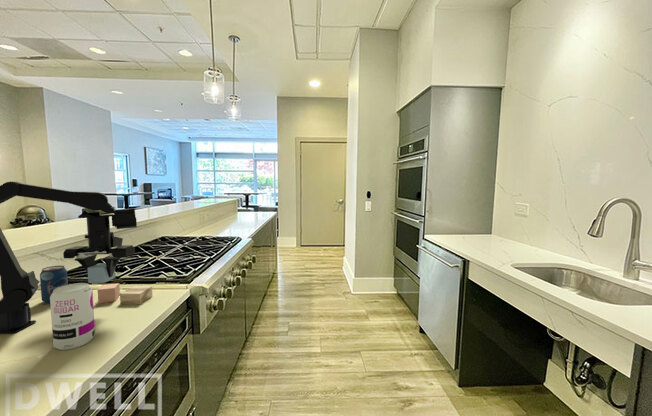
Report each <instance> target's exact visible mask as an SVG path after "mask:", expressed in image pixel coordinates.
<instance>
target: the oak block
mask: <svg viewBox="0 0 652 416" xmlns="http://www.w3.org/2000/svg"><path fill="white" fill-rule="evenodd" d="M151 297H153V286H151V285H149V286H148V285H144V286H143V285H142V286H140V285H138V286H137V285H133V286H131V287H129V288H128V289H126V290H123V291H122V292H120V297H119V299H120V300H119V303H120V305H141V304H143V303H144V302H146V301H147V300H149V299H151Z"/></svg>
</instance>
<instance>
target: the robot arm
mask: <svg viewBox="0 0 652 416" xmlns="http://www.w3.org/2000/svg"><path fill="white" fill-rule="evenodd" d="M14 197H23V198H30V199H37V200H43V201H52V202H59V203H64V204H65V203H67V204H71V205H74V206H76V207H80V208H84V210H83V212H82V213H81V214H79V215H78V219H86V229H87V230H86V231H87V234H85V235H84V239H87V242H88V245H78V246H77V245H76V246H73V247H69V248H66V249H65V250H64V251H63V254H62V256H63V259H74V261H76V262H78V263H79V265H80V266H82V267H83V268H84V269H85V271H86V272H87V273H88V270H87V268H88V267H91V266H93V265H96V262H95V261H96V259H97V255H109V256H108V257H106V258H105V259H104V263H106V267H107V272H108V275H109V277H112V276H113V273H114V270H115V271H116V267H117V265H118V263H119V260H120V259H121V258H125V257H128V256H130V255H134V254H135V253H136V248H135V246H134V245H133V244H132V245H127V244H126V245H123V240H124V238H123V237H119V236H115V235H114V232H113V231H111V227H110V226H112V227H114V228H116V229H117V230H122V229H123V230H125V229H137V226H138V225H137V224H138V223H137V217H136V208H133V207H132V208H125V209H124V208H123V209H122V208H121V209H116V208H115V206H112V204H111V203H109V198H108V196H107V195H106V194H104V193H103V192H100V191H72V190H65V189H59V188H52V187H47V186H46V187H45V186H40V185H35V184H34V185H33V184H28V183H23V182H19V181H7V182H4V183H3V184H1V185H0V205H1V204H2V203H3V204H4V202H7V201H9V200H10V199H13V198H14ZM86 209H87V210H86ZM88 210H91V211H88ZM100 211H101V212H103V213H105V214H101V212H100ZM110 217H111V223H110ZM111 224H112V225H111ZM3 232H4V231H3V230H2V228H1V227H0V290H1V293H2V298H1V299H0V334H15V333H19V332H20V331H22V330H24V329H25V328H28V327H29V326H32V325H33V324H36V322H37V320H33V319H32V315H31V307H30V303H29V302H28V301H30V300H31V299H32V297H33V296H34V295H35V294H36V292H37V290H38V288H39V283H40V280H39V279H38V278H36V274H35V271H34V270H31V271H29V272H27V271H25V270H24V269H23V268H22V267H21V264H20V262H19V261H18V259H17V257H16V255H15V254H14V251H13V249H12V247H11V245H10V244H9V241H8V239H7V238H6V236H5V234H4V233H3Z"/></svg>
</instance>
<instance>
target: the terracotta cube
mask: <svg viewBox="0 0 652 416" xmlns="http://www.w3.org/2000/svg"><path fill="white" fill-rule="evenodd" d="M120 288H121V287H120V283H109V284H102V285H100V287H99V288H97V300H98V301H97V303H98V304H103V303H110V302H116V301H117V300H118V299H120V297H119V296H120V293H121V291H120V290H121V289H120Z"/></svg>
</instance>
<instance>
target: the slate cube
mask: <svg viewBox="0 0 652 416" xmlns="http://www.w3.org/2000/svg"><path fill="white" fill-rule="evenodd" d="M87 270H88V272H87V281H88V282H87V283H88V284H99V283H101V284H102V283H107V282H109V281H111V280H113V279H115V278H116V269H115V270H114V273H113V276H112V277H109V275H108V272H107V267H106V262H103V263H101V262H99V263H95V265H93V266H91V267H88V268H87Z"/></svg>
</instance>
